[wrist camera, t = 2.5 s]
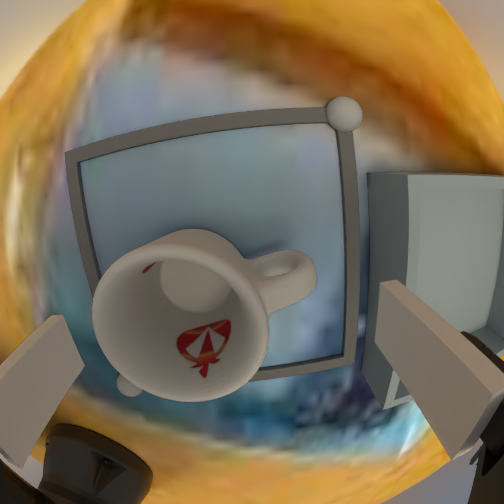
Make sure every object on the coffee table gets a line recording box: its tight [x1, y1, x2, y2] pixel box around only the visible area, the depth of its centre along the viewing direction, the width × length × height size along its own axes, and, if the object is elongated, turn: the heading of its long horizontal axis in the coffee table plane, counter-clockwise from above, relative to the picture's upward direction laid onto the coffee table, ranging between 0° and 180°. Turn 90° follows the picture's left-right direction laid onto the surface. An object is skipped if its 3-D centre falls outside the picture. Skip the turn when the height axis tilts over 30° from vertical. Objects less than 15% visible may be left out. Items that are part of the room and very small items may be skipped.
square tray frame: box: [65, 96, 362, 397], centre depth 18 cm, size 21×21×2 cm
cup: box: [92, 229, 317, 402], centre depth 15 cm, size 11×8×8 cm
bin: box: [361, 172, 504, 410], centre depth 17 cm, size 17×17×5 cm
